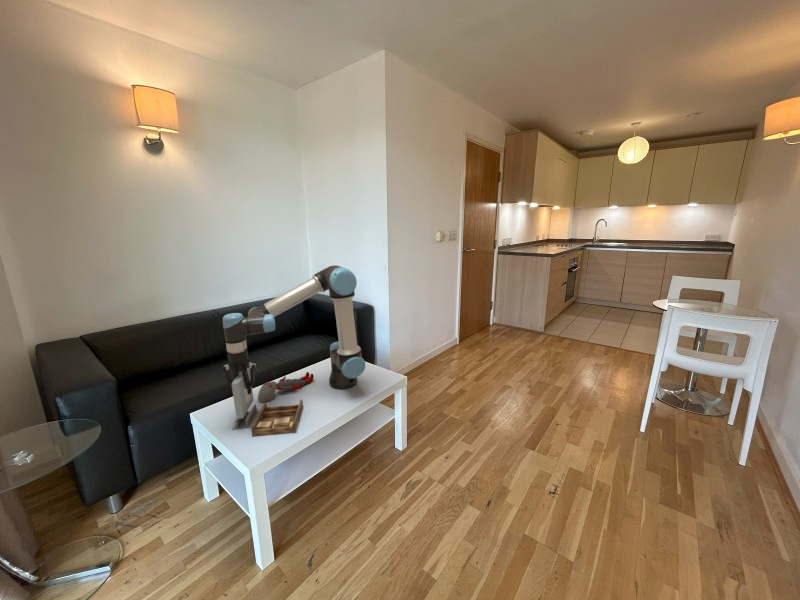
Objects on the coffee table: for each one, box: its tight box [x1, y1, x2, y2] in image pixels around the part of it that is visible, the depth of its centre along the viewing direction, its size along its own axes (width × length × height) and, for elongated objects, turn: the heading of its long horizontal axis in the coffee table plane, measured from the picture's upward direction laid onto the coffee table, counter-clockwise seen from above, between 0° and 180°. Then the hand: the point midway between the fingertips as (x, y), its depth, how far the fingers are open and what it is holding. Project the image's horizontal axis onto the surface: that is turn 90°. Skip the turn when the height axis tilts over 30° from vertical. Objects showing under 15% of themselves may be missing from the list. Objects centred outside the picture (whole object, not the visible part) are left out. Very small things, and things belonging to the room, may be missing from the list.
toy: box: [257, 371, 315, 403], centre depth 168 cm, size 16×10×30 cm
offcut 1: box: [256, 422, 272, 429], centre depth 135 cm, size 5×4×3 cm
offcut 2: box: [274, 417, 290, 428], centre depth 135 cm, size 6×4×2 cm, turn 103°
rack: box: [250, 399, 304, 437], centre depth 141 cm, size 17×19×5 cm
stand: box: [231, 404, 260, 431], centre depth 143 cm, size 13×8×4 cm, turn 7°
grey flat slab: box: [231, 367, 254, 419], centre depth 140 cm, size 14×3×16 cm, turn 7°
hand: (244, 400), depth 141 cm, fingers closed on grey flat slab, 3 cm apart
